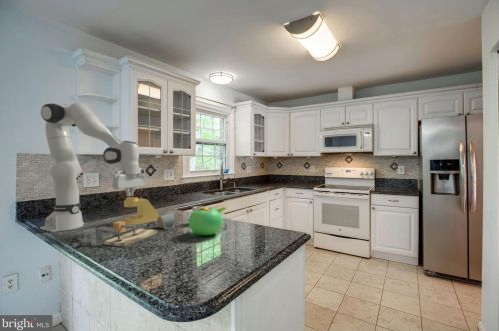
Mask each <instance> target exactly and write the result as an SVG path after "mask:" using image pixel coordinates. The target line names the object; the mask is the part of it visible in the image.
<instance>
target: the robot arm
mask: <svg viewBox="0 0 499 331" xmlns="http://www.w3.org/2000/svg"><path fill="white" fill-rule="evenodd" d="M40 114H41V118H42V120H44V121H45V135H46V141H47V144H48V148H49V152H50V155H51V156H52V157H53V160H54V161H55V164H53V165H52V166H51V168H50V171H49V175H50V176H51V178H52V182H53V186H54V189H55V192H54V193H55V205H54V206H52V208H53V211H52V212H51V213H50V214H49V215H48V216H47V217H45V221H44V225H43V226H41V227H39V230H41V229H42V230H41V231H45V230H46V232H49V231H50V232H49V233H56V232H64V231H71V230H75V229H80V228H82V227H84V225H85V222H84V221H83V220H84V219H83V215H82V211H81V210H80V209H81V202H80V188H79V186H78V182H77V178H79V177H80V175H81V174H82V167H81V165H80V162H79V159H78V157H77V155H76V151H75V149H74V145H73V141H72V137H71V134H70V127H74V128H75V127H77V129H78V130H79V131H80V132H82V133H83V134H84V135H86V136H88V137H92V138H95V139H97V140H100V141H102V142H104V143H105V144H107V146H108V147H107V148H105V149H104V151H103V153H102V159H103V160H104V162H105V163H106V164H108V165H117V166H120V171H119V170H117V171H116V172H114V173H113V178H112V186H111V187H112V189H113V190H124V191H125V193H126V197H127V198H129V197H134V193H135V190H136V188H139V187H145V186H146V178H147V177H146V175H145V174H146V170H145V169H143V168H141V167H140V163H139V159H140V150H139V145H138V143H137V142H134V141H131V140H130V141H129V140H122V141H121V140H119V139H118V137H117V136H116V135H114V133H113V132H111V130H109V128H108V127H107V126H105V124H104V123H103V122H102V121H101V120H100V119H99V118H98V117H97V115H96V114H95V113H94V111H92V110H91V109H90V108H89V107H88V106H87V105H86V104H84V103H81V102H74V103H72V104H67V103H64V104H62V103H46V104H44V105H42V107H41V109H40Z"/></svg>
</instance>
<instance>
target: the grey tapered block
mask: <svg viewBox="0 0 499 331" xmlns="http://www.w3.org/2000/svg"><path fill="white" fill-rule="evenodd" d="M136 229H139V227H138V226H136V228H135V230H136ZM131 231H133V228H125V231H124V232H122V233H120V231H114V230H113V229H111V228H110V226H100V227H96V228H95V239H94V240H91V241H90V246H92V247H98V246H101V245H104V241H106V240H109V239H111V238H114V237H117V236H118V239H120V235H122V234H125V233H128V232H131Z"/></svg>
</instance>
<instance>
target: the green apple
mask: <svg viewBox="0 0 499 331" xmlns="http://www.w3.org/2000/svg"><path fill="white" fill-rule="evenodd" d="M226 209H227V207H226V206H222V207H217V208H211V207H207V208H204V207H200V209H197V210H195V211H194V212H193V211H192V212H193V213H192V214H191V213H190V215H189V218H188V226H189V228H190V230H191V231H192V232H194V233H195V234H197V235H199V236H211V235H215V234H216V233H217V232H219V231H220V230H221V228H222V226H223V222H224V221H223V220H224V219H223V216H222V215H221V212H223V211H225V210H226Z"/></svg>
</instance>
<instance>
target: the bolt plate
mask: <svg viewBox="0 0 499 331" xmlns="http://www.w3.org/2000/svg"><path fill="white" fill-rule="evenodd" d="M157 233H158V230H157V229H147V228H146V229H145V228H138V229H136V230H135V233H133V231H131V232H128V233H125V234H122V235H120V239H118V236H117V237H114V238H111V239H109V240H106V241H104V243H103V245H108V246H114V247H115V246H116V247H124V248H125V247H127V246H130V245H133V244H134V243H136V242H140V241H141V240H144V239H146V238H149V237H150V236H153V235H155V234H157Z"/></svg>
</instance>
